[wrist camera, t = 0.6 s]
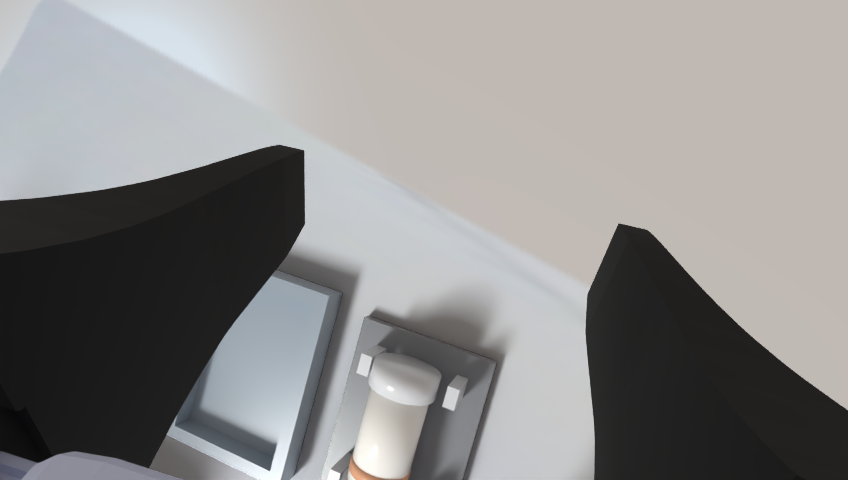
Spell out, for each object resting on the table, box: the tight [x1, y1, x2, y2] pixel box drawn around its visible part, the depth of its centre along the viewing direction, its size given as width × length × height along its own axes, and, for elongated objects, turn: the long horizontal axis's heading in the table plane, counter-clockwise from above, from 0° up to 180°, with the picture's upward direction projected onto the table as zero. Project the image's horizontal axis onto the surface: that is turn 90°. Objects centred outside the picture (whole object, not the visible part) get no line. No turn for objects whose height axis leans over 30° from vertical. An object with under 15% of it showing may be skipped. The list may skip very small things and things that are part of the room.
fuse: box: [341, 353, 441, 480], centre depth 33 cm, size 10×5×5 cm, turn 164°
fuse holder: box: [321, 316, 497, 480], centre depth 34 cm, size 13×10×4 cm
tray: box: [167, 270, 342, 480], centre depth 39 cm, size 15×11×2 cm
